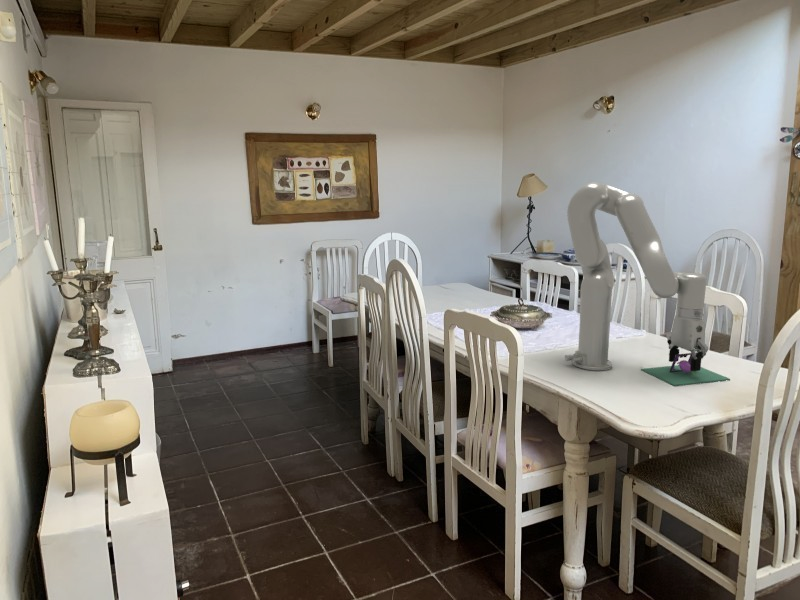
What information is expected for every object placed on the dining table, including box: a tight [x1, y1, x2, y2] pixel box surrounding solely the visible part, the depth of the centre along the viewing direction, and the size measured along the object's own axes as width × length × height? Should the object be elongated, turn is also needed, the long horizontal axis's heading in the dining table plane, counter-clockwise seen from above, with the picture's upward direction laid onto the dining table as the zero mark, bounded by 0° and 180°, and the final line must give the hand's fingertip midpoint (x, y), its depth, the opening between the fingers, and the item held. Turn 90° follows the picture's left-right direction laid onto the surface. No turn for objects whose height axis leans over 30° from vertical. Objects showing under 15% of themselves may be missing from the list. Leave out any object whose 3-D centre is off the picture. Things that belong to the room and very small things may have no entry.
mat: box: [640, 364, 731, 387], centre depth 189 cm, size 20×16×1 cm
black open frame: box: [670, 351, 697, 375], centre depth 189 cm, size 7×5×9 cm
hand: (684, 365), depth 189 cm, fingers open, 9 cm apart
